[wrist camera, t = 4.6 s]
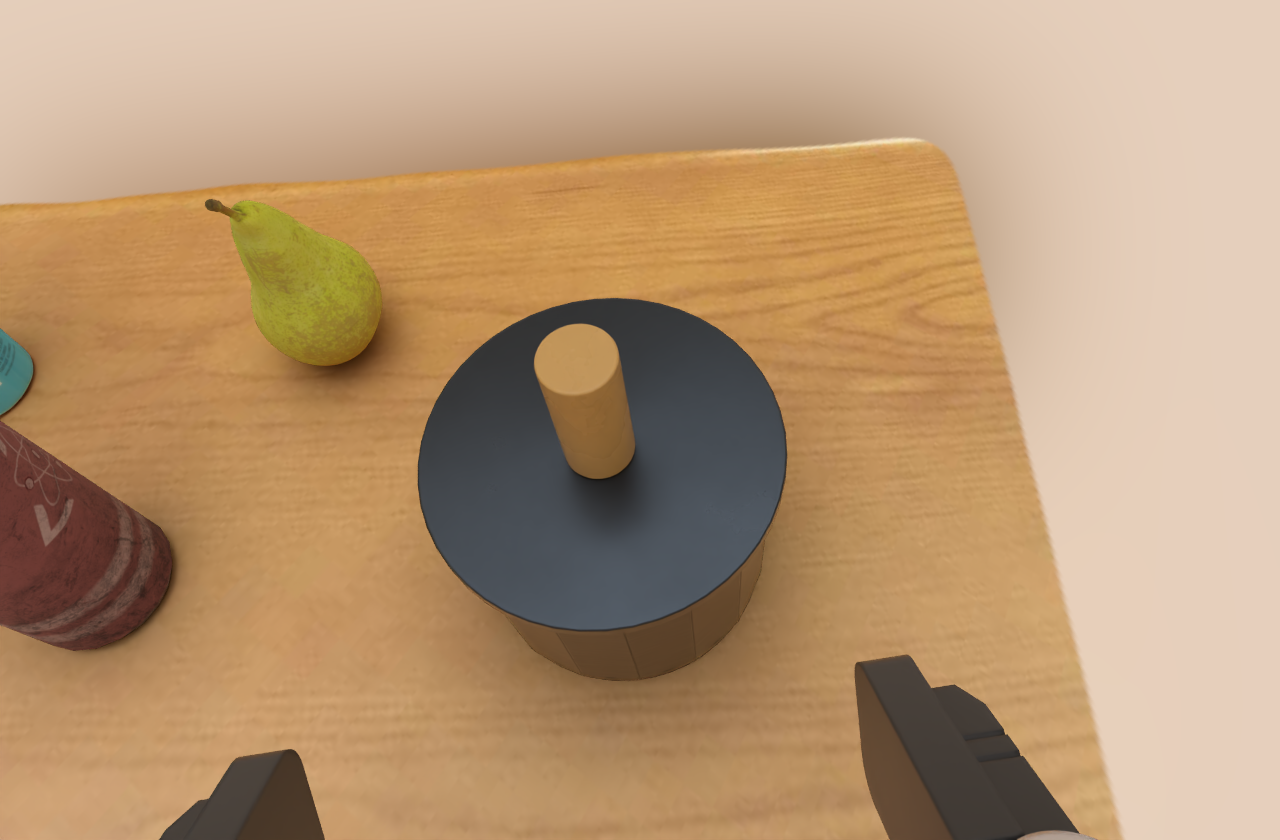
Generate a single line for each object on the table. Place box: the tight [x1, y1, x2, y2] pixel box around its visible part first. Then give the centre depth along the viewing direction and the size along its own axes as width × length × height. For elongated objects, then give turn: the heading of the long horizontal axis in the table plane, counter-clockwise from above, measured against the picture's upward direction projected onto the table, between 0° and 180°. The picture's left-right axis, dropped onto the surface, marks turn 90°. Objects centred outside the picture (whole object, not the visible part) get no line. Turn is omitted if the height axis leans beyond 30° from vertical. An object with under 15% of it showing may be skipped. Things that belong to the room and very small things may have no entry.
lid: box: [418, 298, 787, 636], centre depth 27 cm, size 12×12×7 cm
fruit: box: [205, 199, 382, 366], centre depth 38 cm, size 6×6×12 cm
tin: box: [505, 540, 765, 680], centre depth 33 cm, size 11×11×8 cm
